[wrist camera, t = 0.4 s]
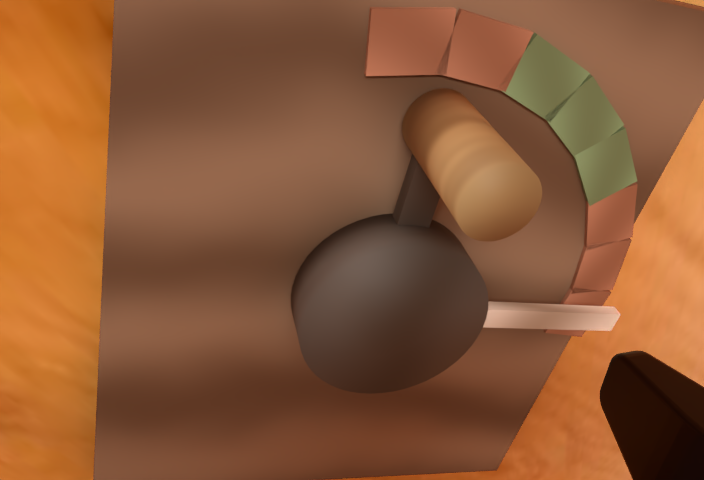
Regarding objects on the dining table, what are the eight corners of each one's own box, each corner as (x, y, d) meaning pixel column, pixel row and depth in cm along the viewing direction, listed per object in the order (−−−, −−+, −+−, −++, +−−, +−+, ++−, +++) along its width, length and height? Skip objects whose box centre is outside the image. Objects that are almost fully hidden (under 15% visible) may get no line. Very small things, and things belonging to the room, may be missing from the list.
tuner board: (498, 454, 36) (507, 473, 35) (94, 472, 29) (92, 495, 28) (739, 15, 23) (763, 25, 22) (122, -130, 16) (119, -124, 15)
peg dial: (275, 356, 26) (295, 463, 22) (343, 72, 19) (389, 149, 16) (564, 358, 30) (625, 448, 26) (695, 127, 24) (800, 198, 20)
